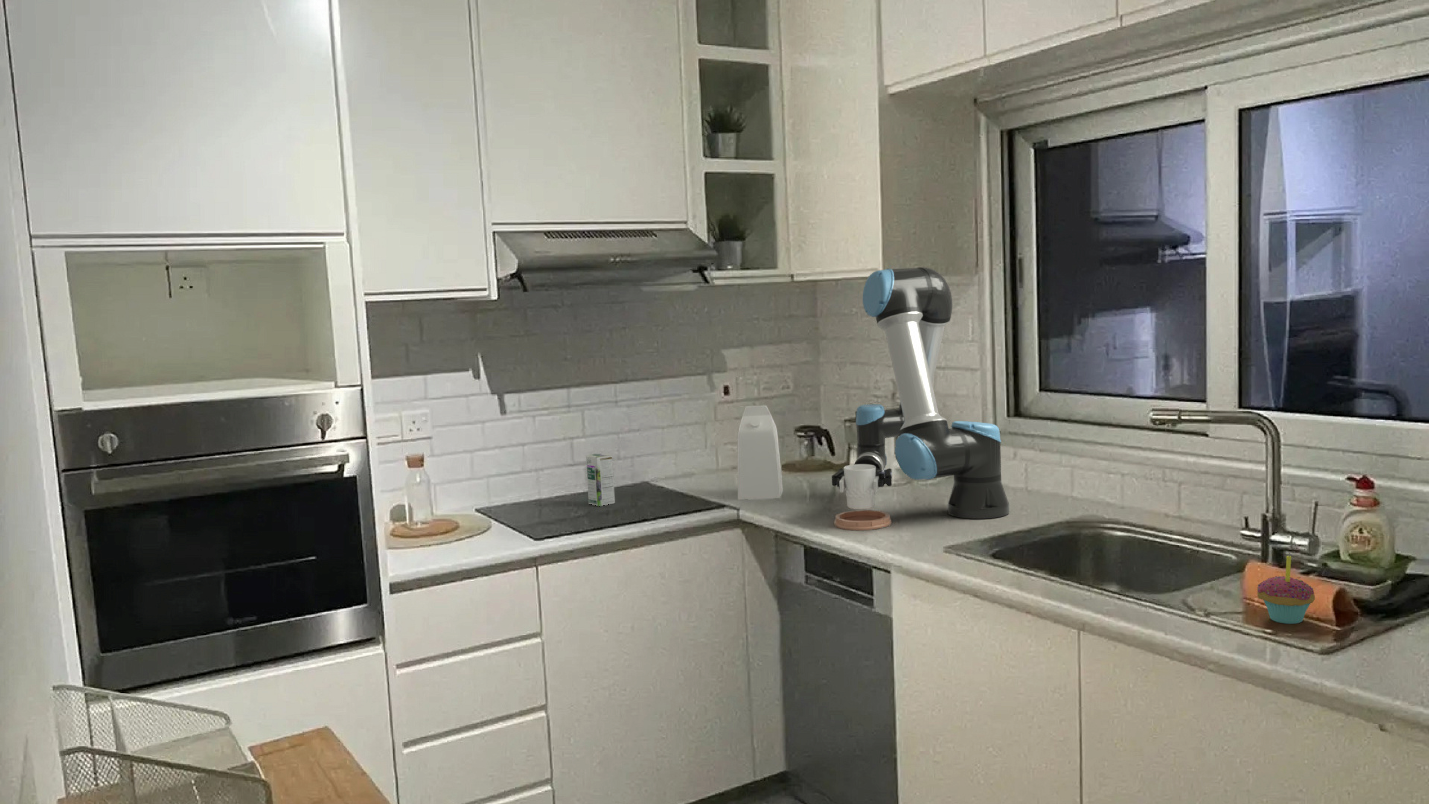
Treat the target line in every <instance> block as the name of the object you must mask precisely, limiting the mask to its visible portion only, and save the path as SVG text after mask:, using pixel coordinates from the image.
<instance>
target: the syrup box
mask: <svg viewBox="0 0 1429 804" xmlns="http://www.w3.org/2000/svg"><path fill="white" fill-rule="evenodd" d="M585 460H586V461H585V463H586V474H587V475H586V478H587V479H586V481H587V493H588V494H587V496H588V505H589V504H592V505H591V506H595V505H596V507H599V506H600V507H604V506H603V505H605V506H609V505H612V504H615V503H616V497H615V485H614V484H615V482H614V480H615V479H614V468H613V467H614V463H613V454H607V453H591V454H587V455H586V456H585ZM608 504H609V505H608Z"/></svg>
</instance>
